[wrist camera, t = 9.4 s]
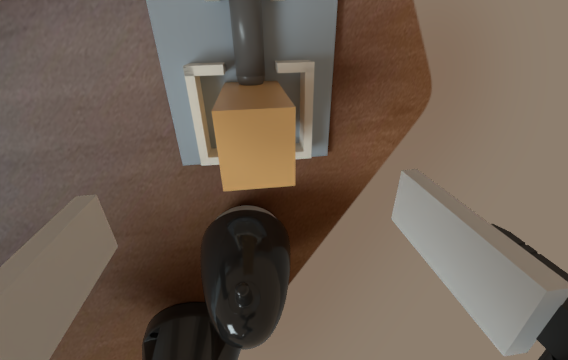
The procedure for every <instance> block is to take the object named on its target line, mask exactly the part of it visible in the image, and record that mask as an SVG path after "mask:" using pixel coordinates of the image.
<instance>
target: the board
mask: <svg viewBox="0 0 568 360" xmlns="http://www.w3.org/2000/svg"><path fill="white" fill-rule="evenodd" d="M146 2H147V7H148V11H149V16H150V20H151V25H152V29H153V33H154V38H155V42H156V47H157V51H158V56H159V60H160V65H161V69H162V74H163V78H164V83H165V87H166V92H167V96H168V101H169V105H170V110H171V114H172V118H173V123H174V127H175V132H176V136H177V141H178V145H179V150H180V154H181V159H182V163H183V165H195V164H201V166H204V165H219V158H218V152H217V145H216V138H215V132H214V125H213V118H212V112H211V111H212V109H213V107H214V105H215V102H216V100H217V98H218V96H219V94H220V92H221V89H222V87H223V85H224V83H226V82H238V80H237V77H236V69H235V59H234V49H233V38H232V28H231V18H230V8H229V0H146ZM261 2H262V22H263V43H264V63H265V79H264V81H278V83H279V84H280V86H281V87H282V88H283V90H284V91H285V93H286V94H287V96H288V97H289V98H290V100H291V101H292V103H293V104H294V106H295V107H296V131H295V159H307V158H311V157H313V156H327V152H328V137H329V123H330V108H331V93H332V78H333V63H334V48H335V33H336V18H337V3H338V0H261Z"/></svg>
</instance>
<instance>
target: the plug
mask: <svg viewBox="0 0 568 360" xmlns="http://www.w3.org/2000/svg"><path fill="white" fill-rule="evenodd" d="M229 8H230V18H231V28H232V38H233V49H234V59H235V69H236V77H237V80H238V82H226V83H224V85H223V87H222V89H221V92H220V94H219V96H218V98H217V100H216V102H215V105H214V107H213V109H212V111H211V112H212V118H213V125H214V132H215V138H216V145H217V152H218V158H219V165H220V172H221V178H222V185H223V191H235V190H248V189H260V188H273V187H285V186H295V131H296V107H295V106H294V104H293V103H292V101H291V100H290V98H289V97H288V96H287V94H286V93H285V91H284V90H283V88H282V87H281V86H280V84H279V83H278V81H264V79H265V63H264V43H263V22H262V2H261V0H229Z"/></svg>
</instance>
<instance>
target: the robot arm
mask: <svg viewBox="0 0 568 360" xmlns="http://www.w3.org/2000/svg"><path fill="white" fill-rule="evenodd" d="M391 219H392V220H393V222H394V223H395V224H396V225H397V227H398V228H399V229H400V230H401V232H402V233H403V234H404V235H405V236H406V238H407V239H408V240H409V241H410V243H411V244H412V245H413V246H414V247H415V249H416V250H417V251H418V252H419V253H420V255H421V256H422V257H423V258H424V260H425V261H426V262H427V263H428V265H429V266H430V267H431V268H432V269H433V271H434V272H435V273H436V274H437V275H438V277H439V278H440V279H441V280H442V282H443V283H444V284H445V285H446V286H447V288H448V289H449V290H450V291H451V293H452V294H453V295H454V296H455V297H456V299H457V300H458V301H459V302H460V304H461V305H462V306H463V307H464V309H465V310H466V311H467V312H468V313H469V315H470V316H471V317H472V318H473V320H474V321H475V322H476V323H477V324H478V326H479V327H480V328H481V329H482V331H483V332H484V333H485V334H486V335H487V337H488V338H489V339H490V340H491V342H493V344H494V345H495V346H496V348H497V349H498V350H499V351H500V353H501V354H502V355H503V356H509V355H514V354H520V353H526V352H528V351H529V349H530V348H531V347H532V345H533V344H534V343H535V341H536V340H538V341H539V342H540V343H541V344H542V345H543V346H544V347H545V348H546V350H545V351H544V353H543V354H542V356H541V357H540V358H539V359H538V360H568V274H567V273H566V272H565V271H563V270H562V269H560V268H559V267H558V266H556V265H555V264H554V263H552V262H551V261H549V260H548V259H547V258H545V257H544V256H542V255H541V254H538V253H537V251H536V250H534V249H533V248H531V247H530V246H529V245H525V242H523V241H522V240H520V239H519V238H517V237H516V236H515V235H513V234H512V233H511V232H509V231H507V230H505V229H502V228H500V227H498V226H496V225H494V224H490V223H488V222H487V221H486V220H484V219H483V218H482V217H480V216H479V215H478V214H476V213H475V212H474V211H472V210H471V209H469V208H468V207H467V206H466V205H464V204H463V203H462V202H460V201H459V200H458V199H456V198H455V197H454V196H452V195H451V194H450V193H448V192H447V191H446V190H444V189H443V188H442V187H440V186H439V185H438V184H436V183H435V182H434V181H432V180H431V179H429V178H428V177H427V176H426V175H424V174H423V173H421V172H420V171H419V170H418V169H412V170H402V172H401V176H400V181H399V185H398V190H397V195H396V199H395V204H394V209H393V213H392V218H391ZM117 247H118V245H117V243H116V240H115V238H114V235H113V233H112V231H111V228H110V226H109V223H108V221H107V219H106V216H105V214H104V211H103V209H102V207H101V204H100V202H99V199H98V197H97V195H85V196H76V197H75V198H74V199H73V200H72V201H70V202H69V203H68V204H67V205H66V206H65V207H64V208H63V209H62V210H61V211H60V212H59V213H58V214H57V215H55V216H54V217H53V218H52V219H51V220H50V221H49V222H48V223H47V224H46V225H45V226H44V227H43V228H42V229H40V230H39V231H38V232H37V233H36V234H35V235H34V236H33V237H32V238H31V239H30V240H29V241H28V242H27V243H25V244H24V245H23V246H22V247H21V248H20V249H19V250H18V251H17V252H16V253H15V254H14V255H13V256H12V257H11V258H9V259H8V260H7V261H6V262H5V263H4V264H3V265H2V266H1V267H0V360H49V359H50V357H51V356H52V354H53V352H54V351H55V349H56V347H57V346H58V344H59V342H60V341H61V339H62V338H63V336H64V334H65V333H66V331H67V329H68V328H69V326H70V324H71V323H72V321H73V319H74V318H75V316H76V315H77V313H78V311H79V310H80V308H81V306H82V305H83V303H84V301H85V300H86V298H87V296H88V295H89V293H90V292H91V290H92V288H93V287H94V285H95V283H96V282H97V280H98V278H99V277H100V275H101V274H102V272H103V270H104V269H105V267H106V265H107V264H108V262H109V260H110V259H111V257H112V255H113V254H114V252H115V251H116V249H117ZM240 350H241V349H237V348H234V347H231V346H229V345H228V344H226V343H225V342H224V341H223V340H222V339H221V337H220V336H219V335H218V333H217V331H216V330H215V328H214V326H213V324H212V322H211V319H210V316H209V314H208V310H207V307H206V303H185V304H180V305H176V306H173V307H170V308H167V309H165V310H163V311H161V312H160V313H158V314H157V315H156V316H155V317H154V318H153V319H152V320H151V321H150V323H149V324H148V327H147V330H146V333H145V336H144V339H143V344H142V360H238V356H239V353H240Z"/></svg>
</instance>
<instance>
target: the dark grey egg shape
mask: <svg viewBox="0 0 568 360" xmlns="http://www.w3.org/2000/svg"><path fill="white" fill-rule="evenodd" d="M200 263H201V278H202V286H203V292H204V297H205V303H206V307H207V310H208V314H209V316H210V319H211V322H212V324H213V326H214V328H215V330H216V331H217V333H218V335H219V336H220V337H221V339H222V340H223V341H224V342H225V343H226V344H228V345H229V346H231V347H234V348H237V349H251V348H254V347H257V346H259V345H261V344H262V343H264V342H265V341H266V340H267V339H268V338H269V337H270V336H271V334H272V333H273V331H274V329H275V328H276V326H277V324H278V321H279V319H280V316H281V314H282V311H283V308H284V304H285V300H286V295H287V289H288V283H289V275H290V241H289V236H288V233H287V230H286V229H285V227H284V225H283V224H282V223H281V222H280V221H279V220H278V219H277V218H276V217H275V216H274V215H273V214H271V213H270V212H268V211H267V210H265V209H263V208H260V207H256V206H249V205H245V206H238V207H234V208H231V209H229V210H227V211H225V212H224V213H222V214H221V215H220V216H219V217H217V219H216V220H215V221H214V222H212V223H211V224H210V226H209V227H208V228H207V230H206V231H205V233H204V236H203V239H202V244H201V255H200Z"/></svg>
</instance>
